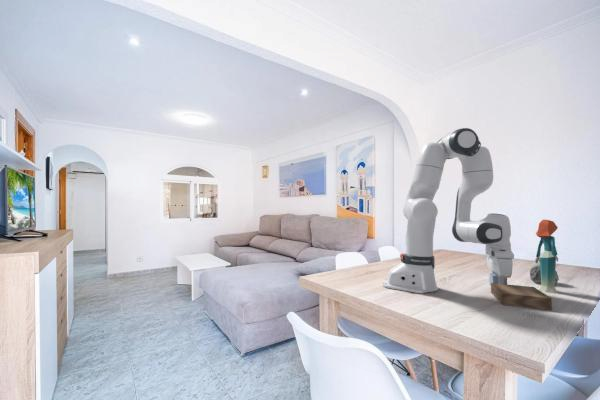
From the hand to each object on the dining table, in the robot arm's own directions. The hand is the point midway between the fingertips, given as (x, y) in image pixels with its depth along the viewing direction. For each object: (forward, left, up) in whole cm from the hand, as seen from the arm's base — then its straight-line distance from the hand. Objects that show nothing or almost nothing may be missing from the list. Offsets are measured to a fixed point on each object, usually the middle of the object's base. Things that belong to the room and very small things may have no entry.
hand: (498, 283), depth 115 cm
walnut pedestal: (+3, -15, -2) cm, 16 cm away
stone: (+23, +19, -3) cm, 29 cm away
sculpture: (+19, +5, -3) cm, 19 cm away
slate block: (0, 0, -2) cm, 2 cm away
